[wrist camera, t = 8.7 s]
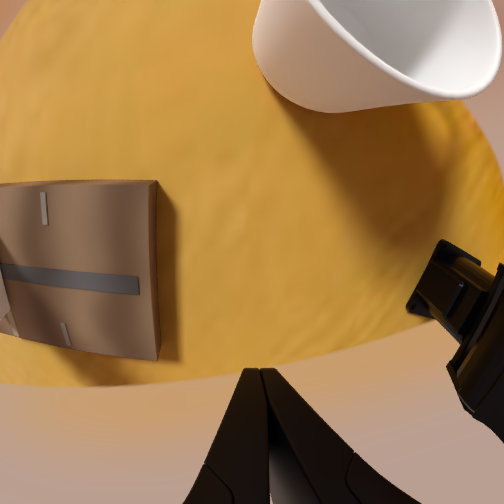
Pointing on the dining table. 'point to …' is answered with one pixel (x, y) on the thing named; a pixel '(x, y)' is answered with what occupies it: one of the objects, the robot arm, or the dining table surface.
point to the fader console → (82, 265)
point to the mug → (376, 51)
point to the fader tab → (3, 299)
